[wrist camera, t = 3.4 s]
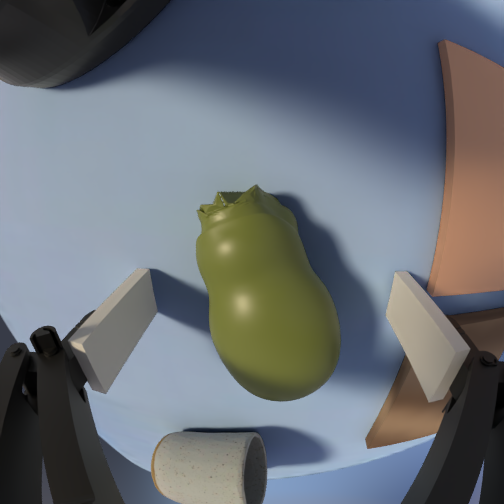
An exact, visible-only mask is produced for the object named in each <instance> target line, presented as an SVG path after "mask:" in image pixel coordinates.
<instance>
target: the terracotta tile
mask: <svg viewBox="0 0 504 504" xmlns="http://www.w3.org/2000/svg"><path fill="white" fill-rule="evenodd" d="M438 47H439V53H440V59H441V66H442V73H443V82H444V92H445V105H446V135H447V142H446V172H445V186H444V197H443V206H442V214H441V221H440V228H439V234H438V240H437V245H436V250H435V255H434V260H433V265H432V269H431V274H430V278H429V282H428V286H427V291H428V292H429V293H430V295H431V296H432V297H435V296H448V295H461V294H472V293H482V292H491V291H500V290H504V67H502V66H500V65H498V64H497V63H495V62H493V61H491V60H489V59H487V58H485V57H483V56H481V55H479V54H477V53H475V52H473V51H471V50H469V49H467V48H465V47H462V46H460V45H458V44H455V43H453V42H451V41H448V40H446V39H444V40H443V41H441V42H439V43H438Z"/></svg>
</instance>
